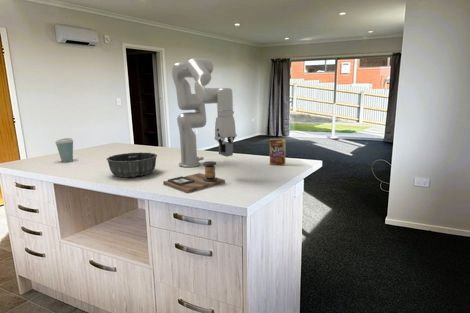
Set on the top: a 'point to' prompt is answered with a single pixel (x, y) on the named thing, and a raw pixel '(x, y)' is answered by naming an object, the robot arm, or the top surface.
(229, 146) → the gray rectangular block
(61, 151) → the disposable coffee cup
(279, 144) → the candy box
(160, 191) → the top surface
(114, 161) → the bundt pan
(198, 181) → the winding board
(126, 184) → the top surface
